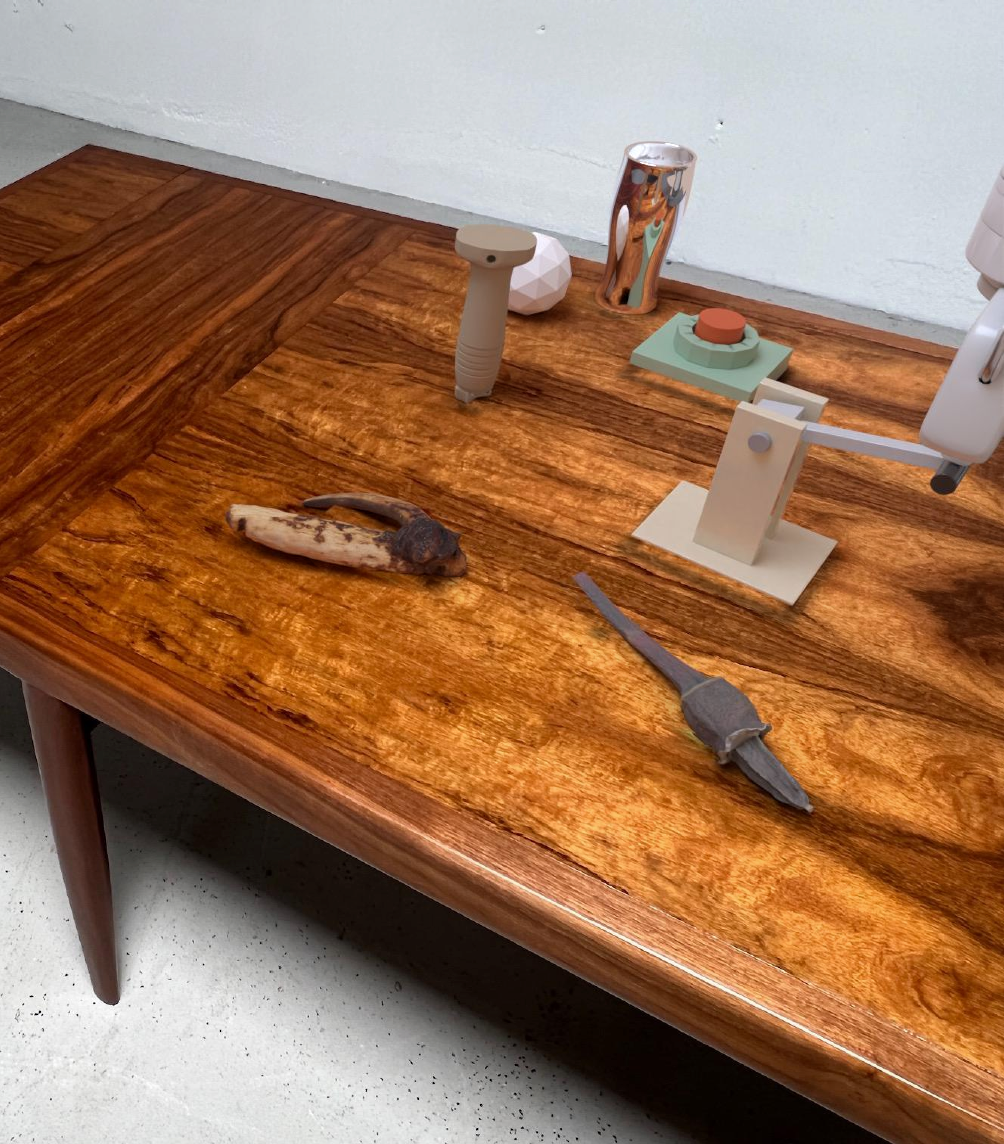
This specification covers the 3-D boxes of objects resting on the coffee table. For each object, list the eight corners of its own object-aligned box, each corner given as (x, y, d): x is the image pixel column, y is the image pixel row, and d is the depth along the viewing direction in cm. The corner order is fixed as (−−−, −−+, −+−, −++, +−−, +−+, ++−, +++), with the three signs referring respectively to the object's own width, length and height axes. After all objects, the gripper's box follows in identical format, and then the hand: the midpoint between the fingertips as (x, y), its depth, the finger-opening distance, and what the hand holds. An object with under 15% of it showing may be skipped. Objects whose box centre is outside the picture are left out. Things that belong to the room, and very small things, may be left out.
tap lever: (978, 461, 72) (987, 428, 70) (951, 504, 68) (961, 470, 67) (768, 418, 80) (772, 387, 78) (734, 454, 76) (739, 423, 75)
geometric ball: (532, 342, 113) (551, 307, 105) (468, 297, 114) (481, 259, 106) (576, 287, 114) (597, 248, 106) (511, 243, 115) (528, 202, 108)
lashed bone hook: (475, 534, 86) (249, 490, 89) (485, 483, 83) (252, 440, 86) (458, 609, 79) (214, 558, 82) (469, 557, 76) (215, 506, 79)
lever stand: (832, 553, 83) (898, 405, 75) (788, 616, 78) (852, 465, 70) (678, 491, 89) (723, 348, 81) (627, 545, 84) (669, 398, 76)
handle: (505, 417, 97) (533, 254, 88) (432, 406, 99) (451, 244, 89) (511, 389, 101) (539, 229, 91) (440, 379, 102) (461, 220, 93)
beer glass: (658, 321, 110) (698, 171, 101) (586, 311, 112) (619, 162, 102) (662, 291, 115) (700, 144, 106) (593, 281, 117) (624, 136, 107)
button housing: (786, 369, 103) (800, 330, 101) (744, 414, 98) (757, 374, 95) (673, 332, 109) (683, 294, 106) (626, 372, 103) (636, 333, 100)
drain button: (747, 334, 101) (753, 317, 100) (730, 351, 99) (735, 333, 98) (705, 321, 103) (710, 303, 102) (686, 337, 101) (691, 319, 100)
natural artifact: (778, 838, 65) (763, 816, 62) (571, 586, 81) (551, 559, 78) (836, 801, 64) (823, 777, 62) (615, 554, 80) (597, 526, 77)
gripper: (1093, 328, 53) (969, 555, 62) (1168, 199, 65) (1054, 405, 74) (950, 288, 56) (851, 509, 65) (1046, 172, 68) (951, 373, 77)
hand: (960, 453), depth 69 cm, fingers closed
